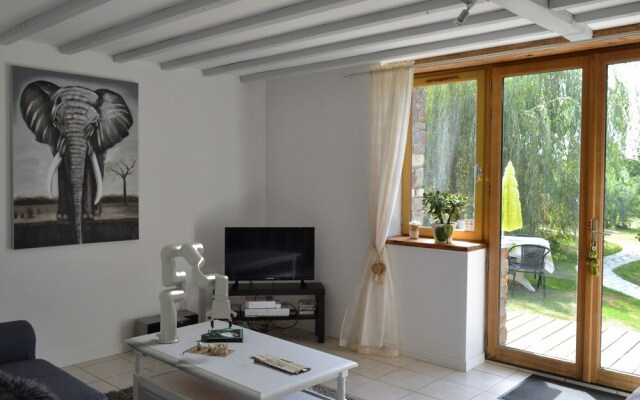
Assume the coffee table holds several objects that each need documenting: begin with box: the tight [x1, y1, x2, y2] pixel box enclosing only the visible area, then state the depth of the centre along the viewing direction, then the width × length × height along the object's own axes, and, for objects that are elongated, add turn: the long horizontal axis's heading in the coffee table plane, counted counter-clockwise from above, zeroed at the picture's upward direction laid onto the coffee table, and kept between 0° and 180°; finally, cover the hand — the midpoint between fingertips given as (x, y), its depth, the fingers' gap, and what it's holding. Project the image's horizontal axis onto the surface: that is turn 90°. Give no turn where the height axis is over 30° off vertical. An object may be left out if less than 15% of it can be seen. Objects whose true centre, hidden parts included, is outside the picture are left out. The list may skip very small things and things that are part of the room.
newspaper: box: [251, 353, 312, 375], centre depth 310 cm, size 35×12×4 cm, turn 49°
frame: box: [213, 343, 229, 355], centre depth 326 cm, size 7×7×4 cm
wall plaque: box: [200, 327, 244, 344], centre depth 357 cm, size 30×4×30 cm
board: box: [182, 342, 237, 358], centre depth 328 cm, size 26×14×5 cm, turn 71°
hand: (221, 328), depth 325 cm, fingers open, 9 cm apart
